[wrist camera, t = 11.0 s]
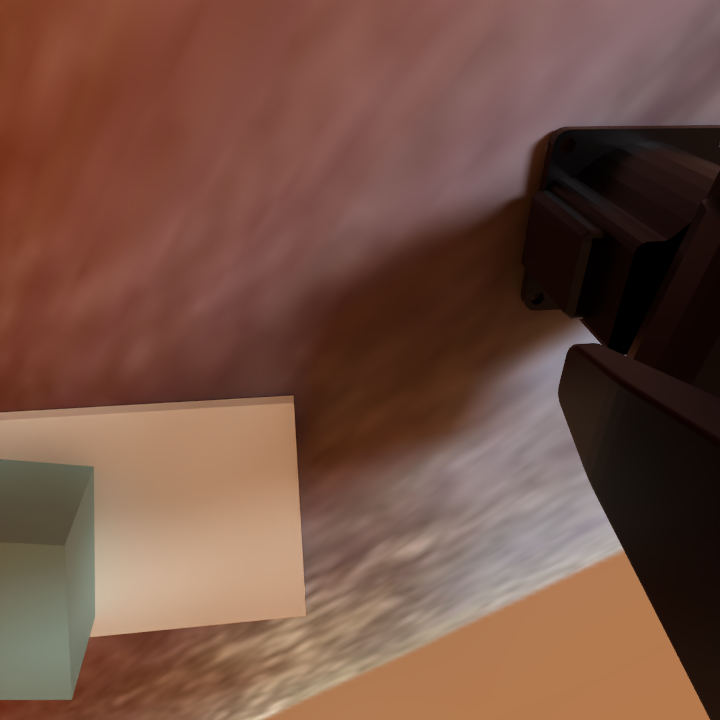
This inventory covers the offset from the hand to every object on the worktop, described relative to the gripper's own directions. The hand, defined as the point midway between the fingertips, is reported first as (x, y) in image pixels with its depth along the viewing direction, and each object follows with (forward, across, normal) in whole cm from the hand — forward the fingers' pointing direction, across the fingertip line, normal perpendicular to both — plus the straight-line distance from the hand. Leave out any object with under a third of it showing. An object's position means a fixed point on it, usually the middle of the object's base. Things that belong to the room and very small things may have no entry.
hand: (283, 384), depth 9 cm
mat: (+12, +10, +16) cm, 22 cm away
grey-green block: (+12, +12, +16) cm, 23 cm away
